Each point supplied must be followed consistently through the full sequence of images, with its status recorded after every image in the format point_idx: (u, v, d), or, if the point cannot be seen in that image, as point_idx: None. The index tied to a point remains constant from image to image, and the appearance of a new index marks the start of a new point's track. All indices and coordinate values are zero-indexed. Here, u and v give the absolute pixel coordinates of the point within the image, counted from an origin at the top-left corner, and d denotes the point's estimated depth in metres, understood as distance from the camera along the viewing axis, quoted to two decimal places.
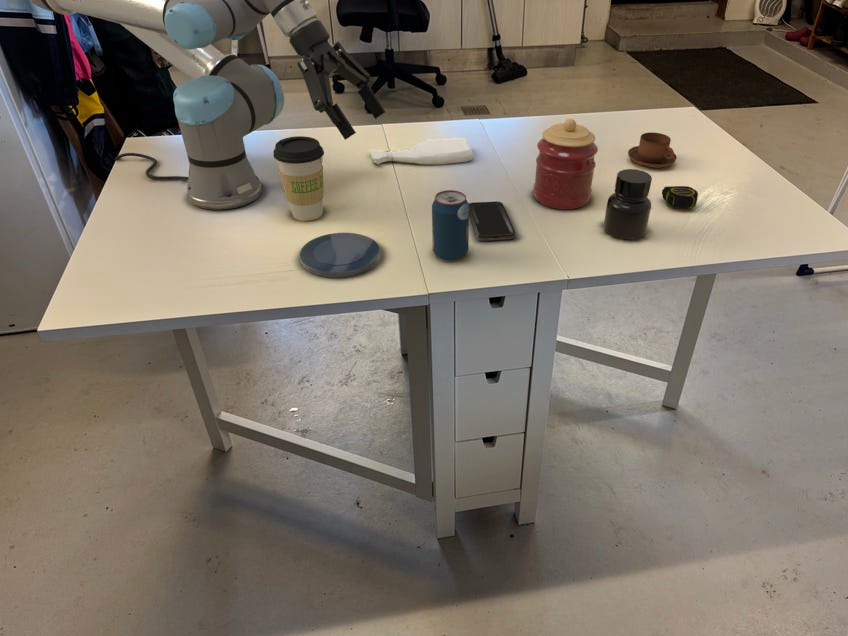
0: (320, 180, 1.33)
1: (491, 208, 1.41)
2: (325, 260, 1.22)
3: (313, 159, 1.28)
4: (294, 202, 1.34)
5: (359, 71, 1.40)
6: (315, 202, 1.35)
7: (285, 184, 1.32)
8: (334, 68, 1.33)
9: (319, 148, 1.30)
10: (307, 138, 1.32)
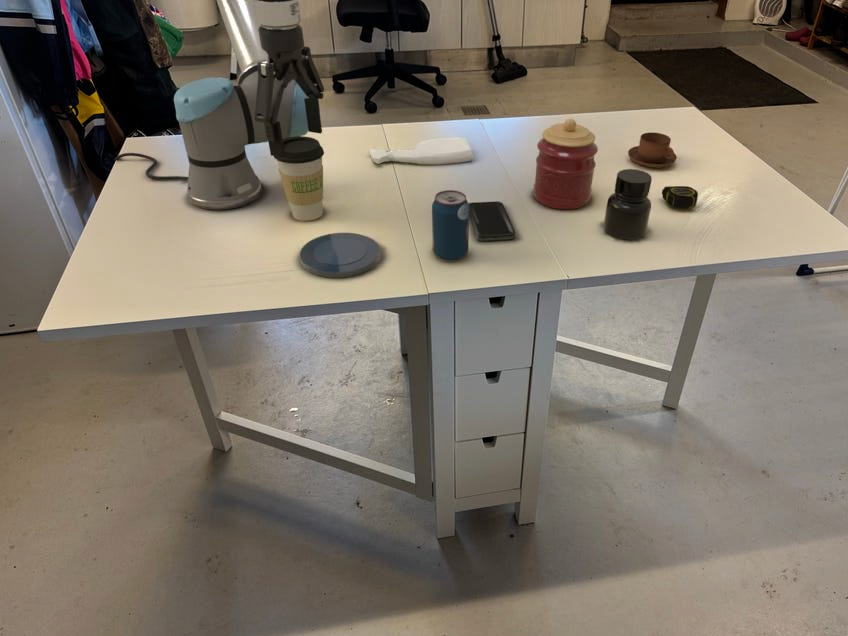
0: (320, 180, 1.33)
1: (491, 208, 1.41)
2: (325, 260, 1.22)
3: (313, 159, 1.28)
4: (294, 202, 1.34)
5: (315, 82, 1.29)
6: (315, 202, 1.35)
7: (285, 184, 1.32)
8: (293, 78, 1.21)
9: (319, 148, 1.30)
10: (307, 138, 1.32)
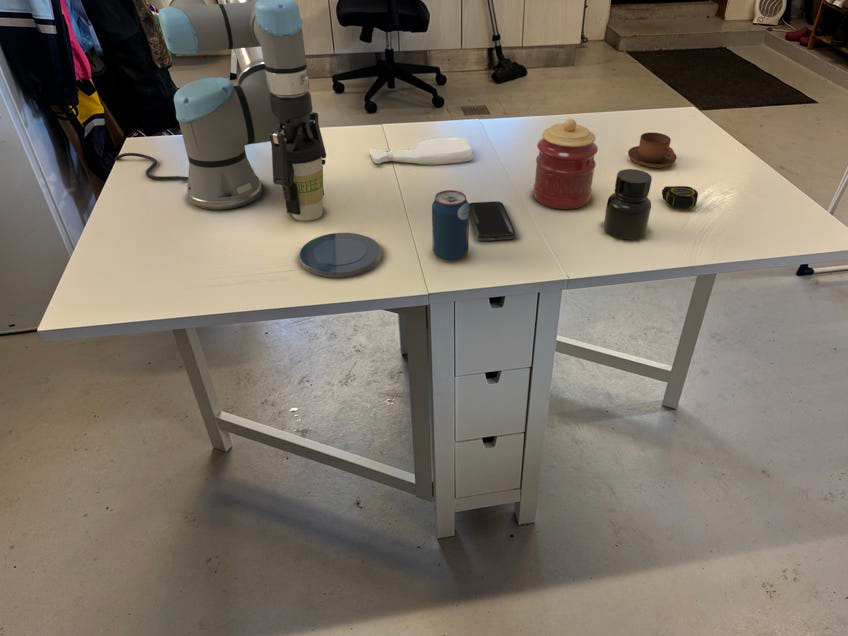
0: (320, 180, 1.33)
1: (491, 208, 1.41)
2: (325, 260, 1.22)
3: (313, 159, 1.28)
4: None
5: None
6: (315, 202, 1.35)
7: None
8: (301, 139, 1.29)
9: (319, 148, 1.30)
10: None
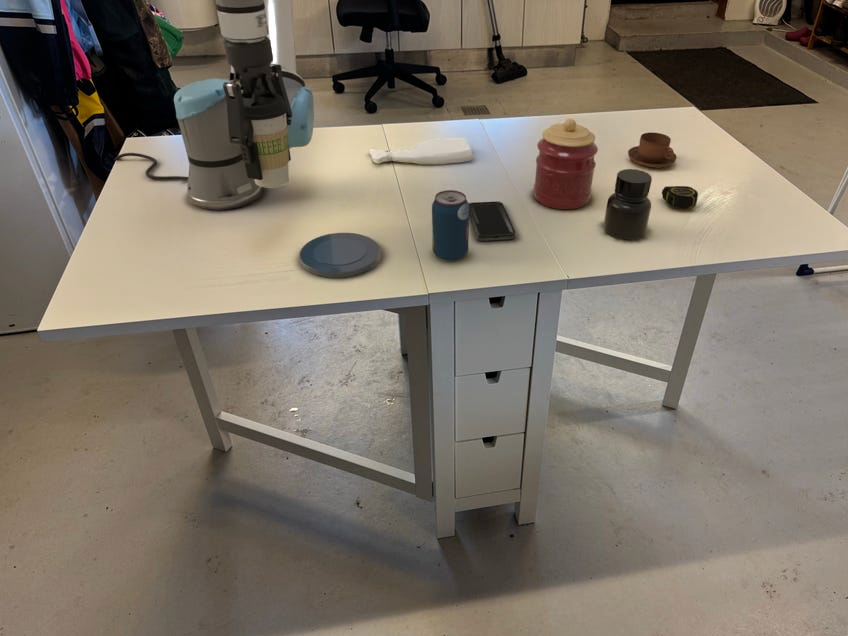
0: (284, 141, 1.18)
1: (491, 208, 1.41)
2: (325, 260, 1.22)
3: (275, 115, 1.14)
4: None
5: None
6: (279, 166, 1.20)
7: None
8: (262, 94, 1.14)
9: (282, 104, 1.15)
10: None
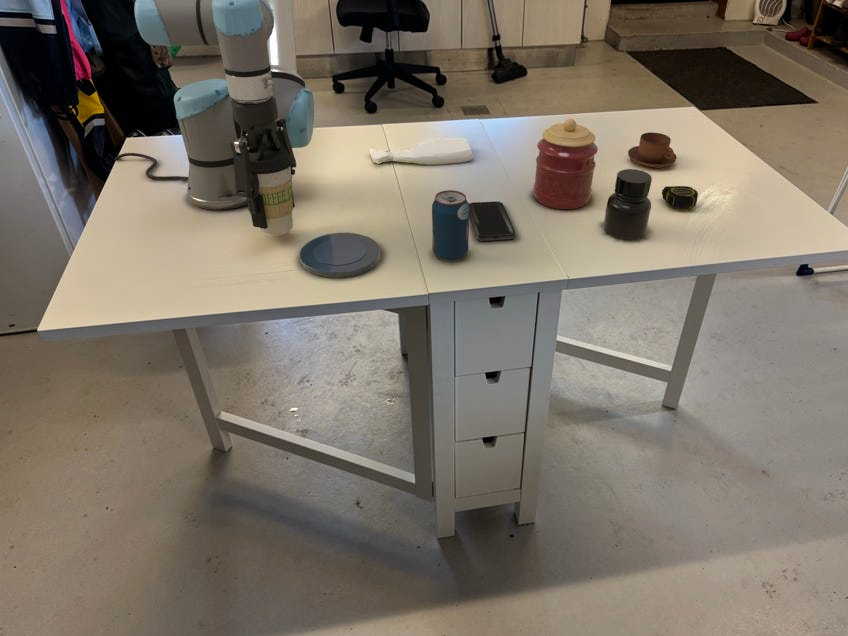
0: (288, 191, 1.23)
1: (491, 208, 1.41)
2: (325, 260, 1.22)
3: (280, 169, 1.19)
4: None
5: None
6: (283, 215, 1.25)
7: None
8: (267, 148, 1.19)
9: (287, 157, 1.20)
10: None
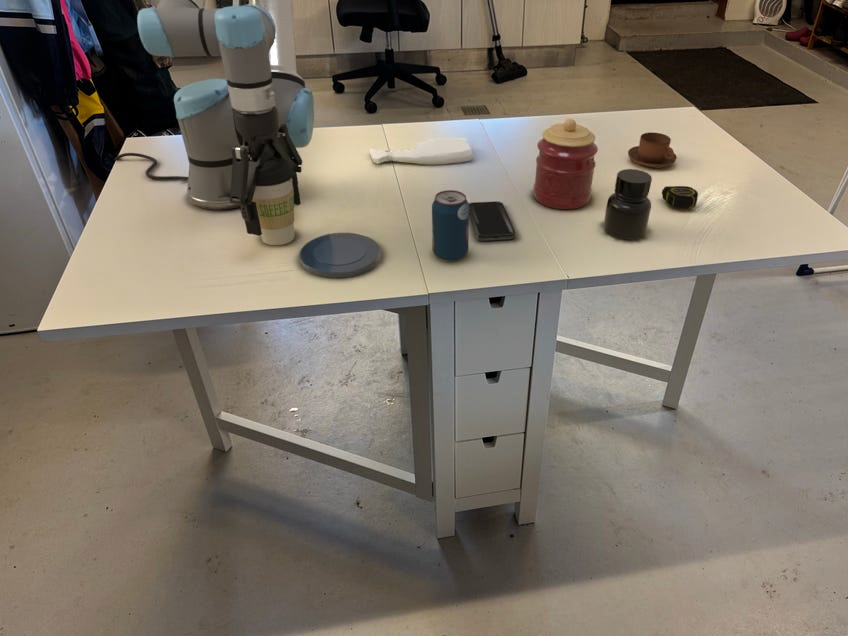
0: (290, 203, 1.25)
1: (491, 208, 1.41)
2: (325, 260, 1.22)
3: (282, 181, 1.20)
4: (263, 226, 1.26)
5: (293, 156, 1.28)
6: (285, 225, 1.26)
7: None
8: (269, 157, 1.20)
9: (288, 169, 1.22)
10: (276, 158, 1.24)
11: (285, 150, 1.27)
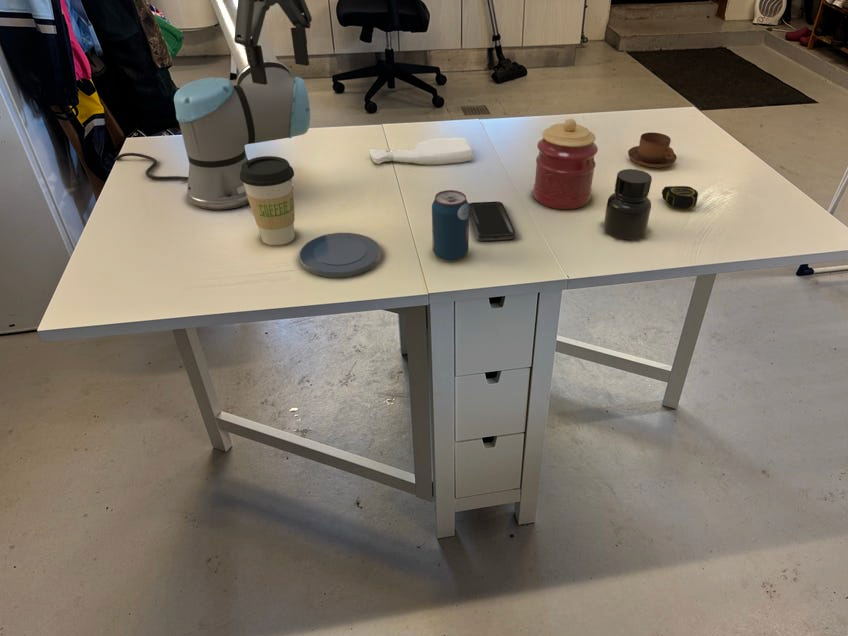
0: (290, 203, 1.25)
1: (491, 208, 1.41)
2: (325, 260, 1.22)
3: (282, 181, 1.20)
4: (263, 226, 1.26)
5: (302, 10, 1.25)
6: (285, 225, 1.26)
7: (253, 207, 1.24)
8: (276, 2, 1.18)
9: (288, 169, 1.22)
10: (276, 158, 1.24)
11: (294, 3, 1.24)
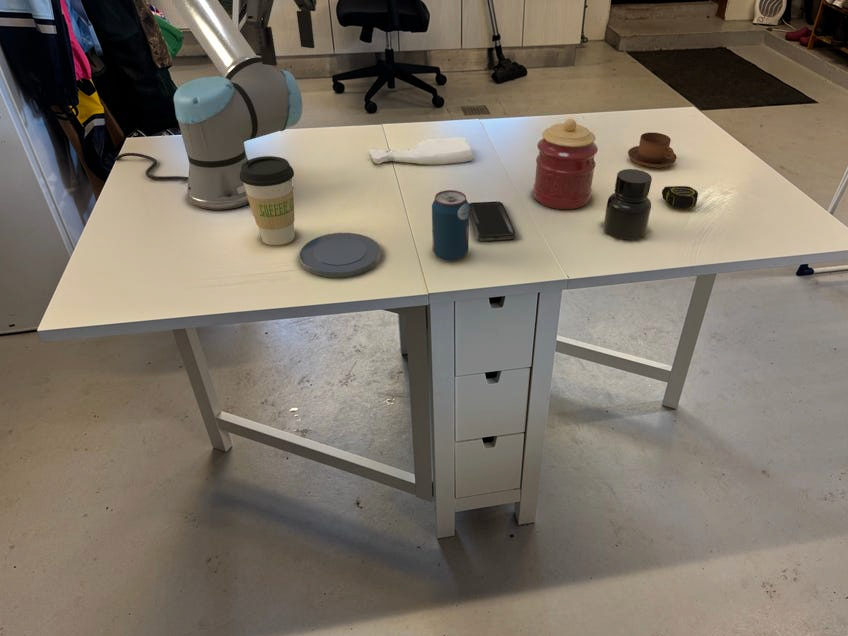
0: (290, 203, 1.25)
1: (491, 208, 1.41)
2: (325, 260, 1.22)
3: (282, 181, 1.20)
4: (263, 226, 1.26)
5: None
6: (285, 225, 1.26)
7: (253, 207, 1.24)
8: None
9: (288, 169, 1.22)
10: (276, 158, 1.24)
11: None
